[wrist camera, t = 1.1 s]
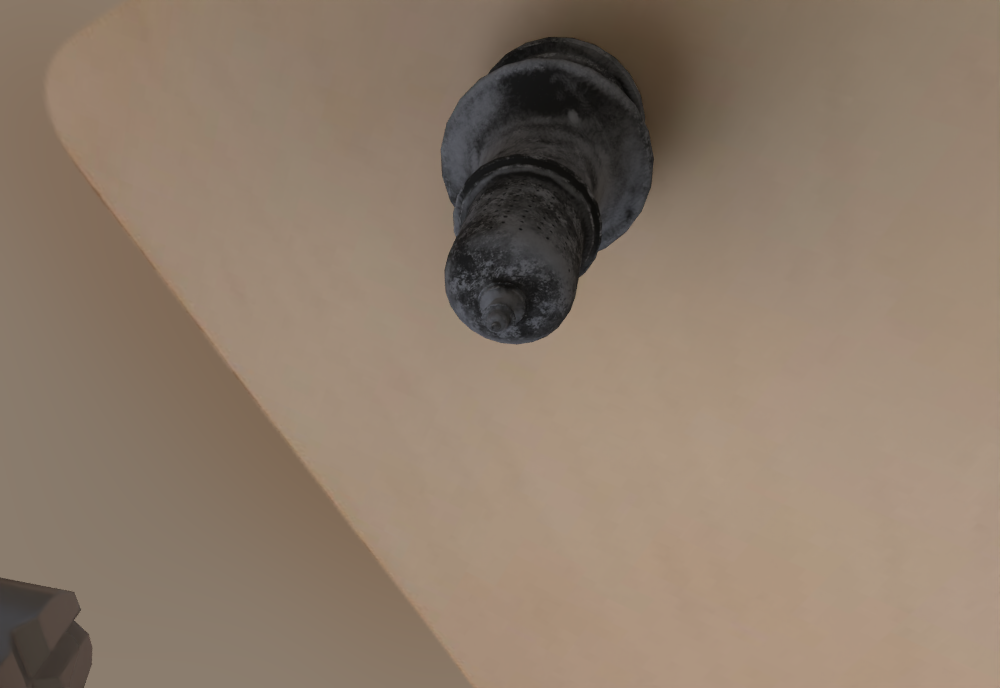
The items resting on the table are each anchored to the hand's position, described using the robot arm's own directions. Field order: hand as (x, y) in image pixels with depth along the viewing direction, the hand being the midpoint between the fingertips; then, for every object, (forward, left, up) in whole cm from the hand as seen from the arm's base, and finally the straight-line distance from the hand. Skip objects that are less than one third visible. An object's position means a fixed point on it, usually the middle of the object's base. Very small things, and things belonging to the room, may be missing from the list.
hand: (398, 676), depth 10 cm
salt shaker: (0, 0, -20) cm, 20 cm away
